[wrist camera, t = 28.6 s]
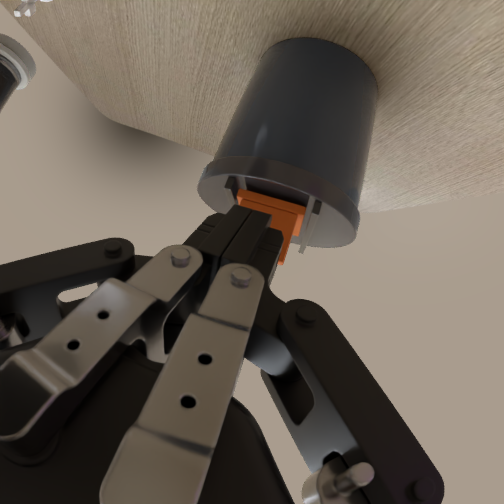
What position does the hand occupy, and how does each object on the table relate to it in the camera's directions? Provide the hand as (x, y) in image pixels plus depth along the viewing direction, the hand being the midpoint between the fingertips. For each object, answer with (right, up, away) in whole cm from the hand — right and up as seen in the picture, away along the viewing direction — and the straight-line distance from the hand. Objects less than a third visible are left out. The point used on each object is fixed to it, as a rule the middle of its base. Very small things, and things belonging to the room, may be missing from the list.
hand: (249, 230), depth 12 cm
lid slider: (+1, +1, +5) cm, 6 cm away
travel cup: (+5, +13, +10) cm, 17 cm away
